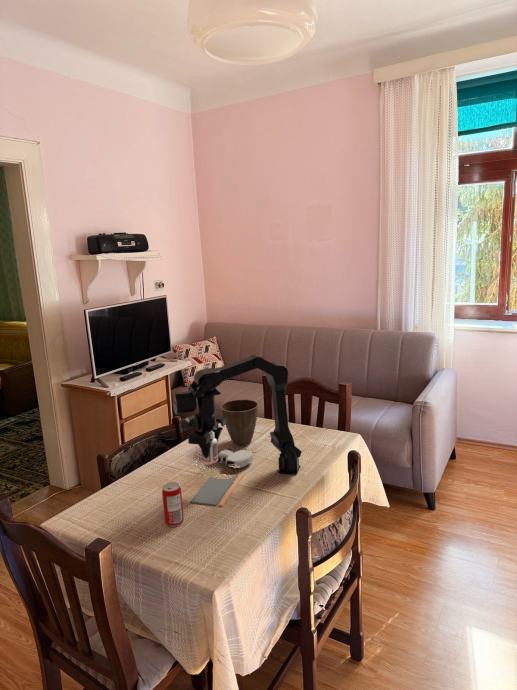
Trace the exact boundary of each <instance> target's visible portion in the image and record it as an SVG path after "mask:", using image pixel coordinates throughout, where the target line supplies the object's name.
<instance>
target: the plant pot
mask: <svg viewBox="0 0 517 690" xmlns="http://www.w3.org/2000/svg"><path fill="white" fill-rule="evenodd" d="M220 409H221V414H222V416H224V417H225V418H226V424H225V425H224V426H225V427H226V431H227V433H228V436H229V437H230V439H231V441H232V444H233V445H234V446H237V447H239V446H240V447H241V446H242V447H244V446H247V445H250V444H251V442H252V440H253V438H254V434H255V431H256V430H255V429H256V424H257V421H258V420H257V418H258V411H259V410H258V409H259V403H258V402H257V401H255V400H252V399H235V400H230V401H226V402H224V403H222V404H221V406H220Z"/></svg>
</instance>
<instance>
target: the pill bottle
mask: <svg viewBox="0 0 517 690" xmlns="http://www.w3.org/2000/svg"><path fill="white" fill-rule="evenodd" d="M209 434H210V437H211V438H210V439H213V441H212V444H211V448H210V452H209V455H208V458H205V457H204V455H203V453H202V450H201V449H200V452H201V462H202V463H203V464H206V465H212V464H215V462H217V461H218V452H219V451H218V442H217V439H216V438H214V437H215V435H214V432H213V431H211V432H210V433H209Z"/></svg>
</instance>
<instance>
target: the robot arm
mask: <svg viewBox="0 0 517 690" xmlns="http://www.w3.org/2000/svg"><path fill="white" fill-rule="evenodd" d="M256 369H259V370H261V371H262V372H264V373H265V376H266V377H265V378H266V379H267V382H268V384H269V387H270V389H271V395H272V399H271V400H272V406H273V416H274V417H273V418H274V429H273V431H270V432H269V435H270V443H271V444H272V445H273V447H274V448H275V449H277V451H279V452H280V453H279V457H278V469H279V470H278V473H279V474H287V475H298V473H299V470H300V468H301V465H300V460H299V459H300V458H301V455H302V450H300V449H299V448H298V447H297V446H296V445H295V440H294V437H293V435H292V432H291V430H290V427H289V417H288V409H287V406H288V405H287V398H286V395H287V394H286V388H287V385H288V382H289V370H288V368H287V367H286V366H284V365H282V364H280V363H279V362H276V361H272V362H270V361H268V360H266V359H265V358H263V357H261V356H260V355H258V354H251V356H248V357H245V358H242V359H240V360H236V361H234V362H232V363H227V364H225V365H223V366H220V367H209V368H203V369H199V370H197V371H196V372H195V374H194V376H193V380H192V382H191V384H190V385H189V387H188V391H182V392H181V391H180V392H179V391H178V392H173V398H172V399H173V401H172V406H173V411H174V414H175V415H181V414H187V413H193V412H195V411H196V410H197V412H196V413H195V414H193V415H190V416H187V417H185V418H182V420H181V421H180V428H181V429H182V430H184V431H185V432H186V431H188V430H190V429H194V431H192V433H191V434H190V435H188V436H187V442H188V444H189V445H190V444H191V445H198V446H199V448H200V451H201V450H202V453H203V455H204V457H205V458H208V455H209V452H210V448H211V444H212V441H213V439H210V438H211V437H210V434H209V433H210V432H211V431H213V432H214V435H215V437H214V438H216V439H217V443H218V442H219V439H220V436H221V433H222V431H223V429H224V427H225V426H226V425H225V424H226V418H225V417H224V416H223V415H218V411H219V410H218V409H216V403H215V402H216V400H215V399H216V398H215V396H219V395H221V394H222V393H221V391H219V390H218V389H217V387H219V386H220V385H221V384H222V383H223V382H225V381H226V380H229V379H232V378H235V377H238V376H240V375H243V374H245V373H248V372H251V371H254V370H256Z"/></svg>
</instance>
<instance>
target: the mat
mask: <svg viewBox="0 0 517 690" xmlns="http://www.w3.org/2000/svg"><path fill="white" fill-rule="evenodd" d="M235 475H236V476H233V477H232V478H229V479H217V478H213V477H208V479H207V480H206V482H204V484H203V485H202V486H201V487H200V489H198V491H197V492H196V493H195V494H194V496H193V497H191V498H192V499H191V500H190V501H189V503H190V504H196V505H197V504H198V505H206V506H213V507H217V505H219V504H220V502H221V501H222V499H223V498H224V497H225V495H226V494H227V492H228V491H229V489H230V488H231V487H232V485H233V484H234V482H235V481H236V479H237V478H238V474H235ZM236 477H237V478H236ZM235 478H236V479H235ZM233 481H234V482H233Z"/></svg>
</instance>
